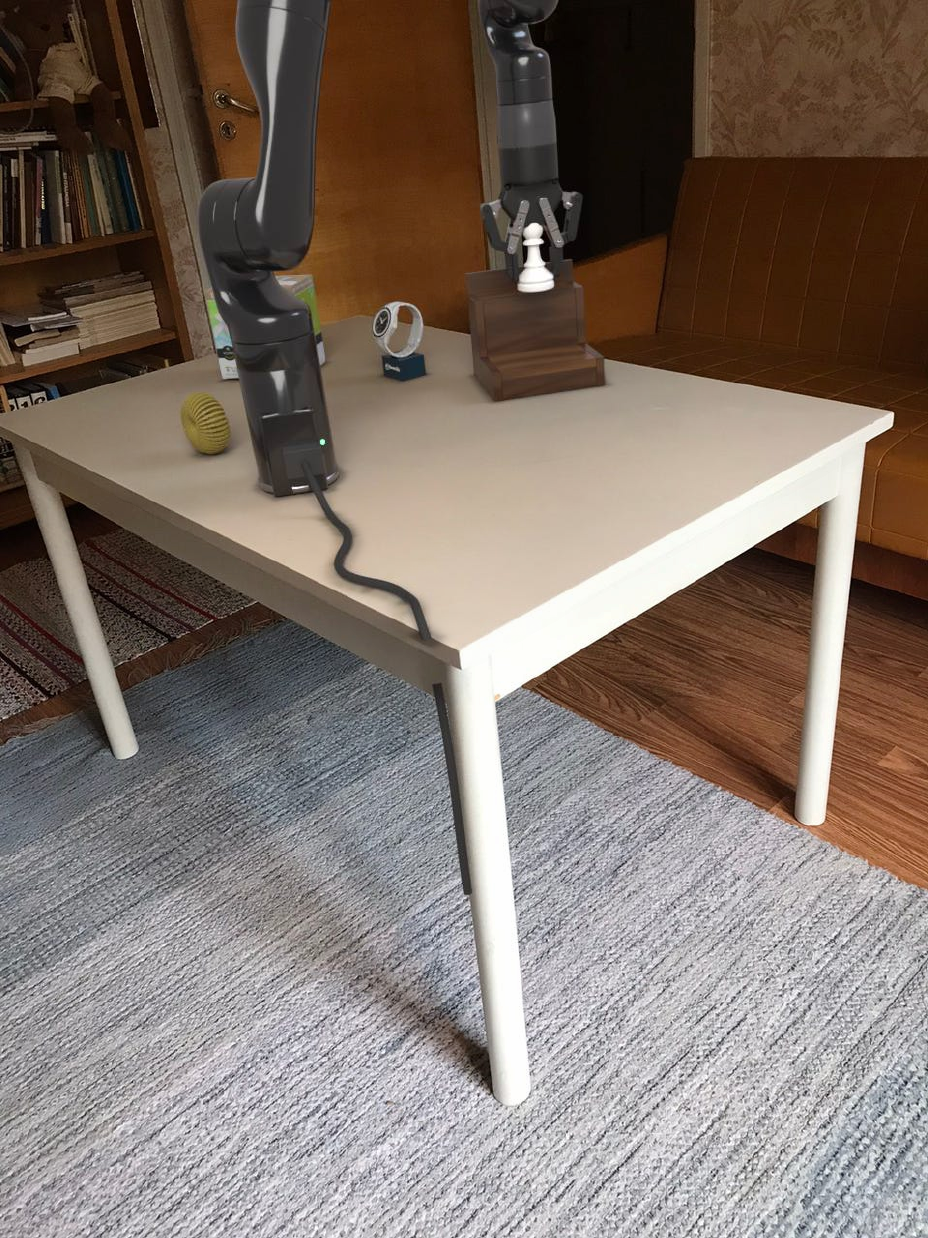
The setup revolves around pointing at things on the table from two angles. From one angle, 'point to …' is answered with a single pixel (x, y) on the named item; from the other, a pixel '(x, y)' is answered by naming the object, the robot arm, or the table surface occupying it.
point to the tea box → (292, 283)
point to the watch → (406, 360)
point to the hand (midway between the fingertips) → (535, 277)
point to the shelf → (530, 336)
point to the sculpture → (205, 423)
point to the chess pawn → (534, 263)
